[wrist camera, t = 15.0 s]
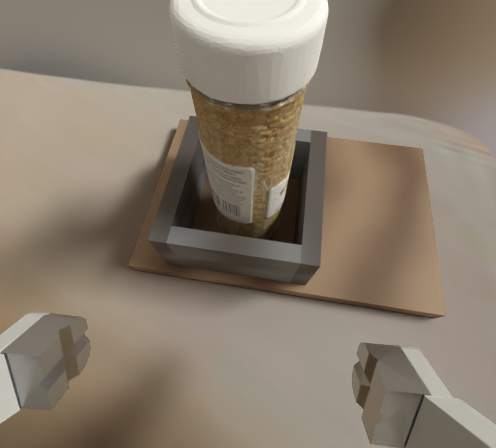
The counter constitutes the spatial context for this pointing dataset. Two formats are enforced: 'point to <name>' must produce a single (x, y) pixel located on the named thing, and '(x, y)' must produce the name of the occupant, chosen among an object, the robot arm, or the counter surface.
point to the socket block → (306, 226)
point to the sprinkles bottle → (248, 97)
